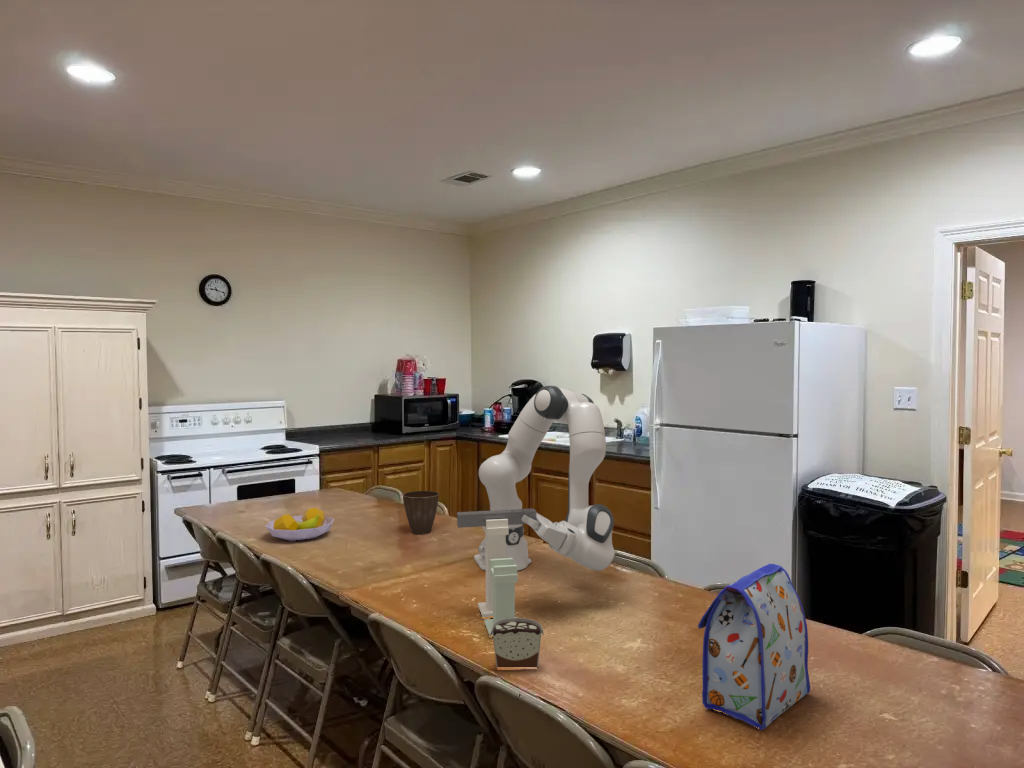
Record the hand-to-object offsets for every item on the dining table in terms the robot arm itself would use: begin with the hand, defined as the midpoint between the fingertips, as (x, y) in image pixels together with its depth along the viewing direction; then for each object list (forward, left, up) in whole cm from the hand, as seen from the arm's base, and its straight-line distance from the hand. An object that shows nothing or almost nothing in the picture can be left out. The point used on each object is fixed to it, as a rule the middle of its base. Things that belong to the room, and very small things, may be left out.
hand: (520, 515), depth 192 cm
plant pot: (-98, +2, -27) cm, 102 cm away
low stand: (+11, -10, -27) cm, 31 cm away
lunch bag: (+67, +21, -28) cm, 76 cm away
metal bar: (-2, -7, -2) cm, 7 cm away
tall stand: (-2, -7, -27) cm, 28 cm away
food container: (+30, -16, -27) cm, 44 cm away
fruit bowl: (-113, -44, -28) cm, 124 cm away
